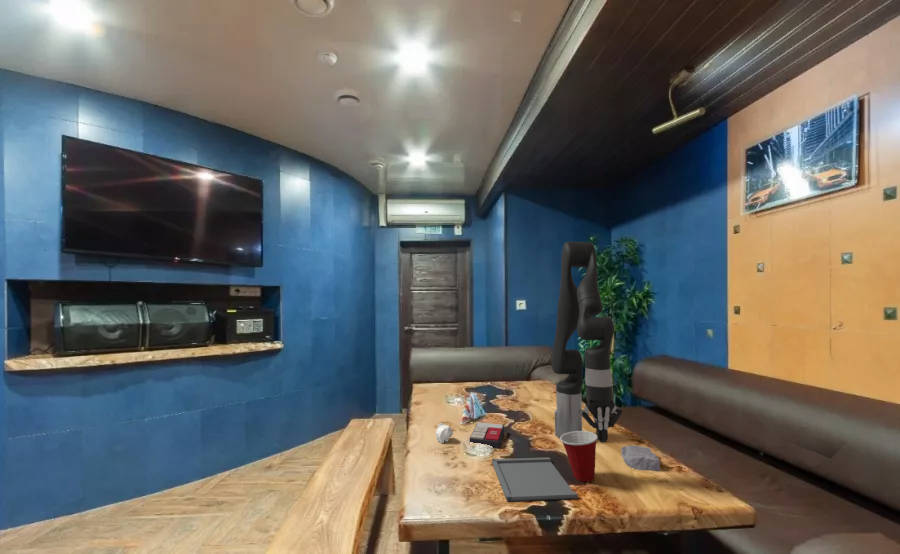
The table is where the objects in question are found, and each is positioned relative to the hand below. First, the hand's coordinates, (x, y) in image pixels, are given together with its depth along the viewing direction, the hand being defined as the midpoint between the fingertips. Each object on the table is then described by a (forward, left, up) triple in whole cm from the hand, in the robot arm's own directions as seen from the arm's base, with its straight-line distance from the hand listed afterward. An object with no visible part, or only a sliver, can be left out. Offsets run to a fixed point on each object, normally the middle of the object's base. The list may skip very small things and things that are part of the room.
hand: (602, 441), depth 107 cm
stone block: (0, +18, -11) cm, 21 cm away
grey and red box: (-41, -10, -11) cm, 44 cm away
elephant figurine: (-49, -25, -11) cm, 56 cm away
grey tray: (-11, -19, -10) cm, 24 cm away
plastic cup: (-3, -5, -10) cm, 12 cm away
